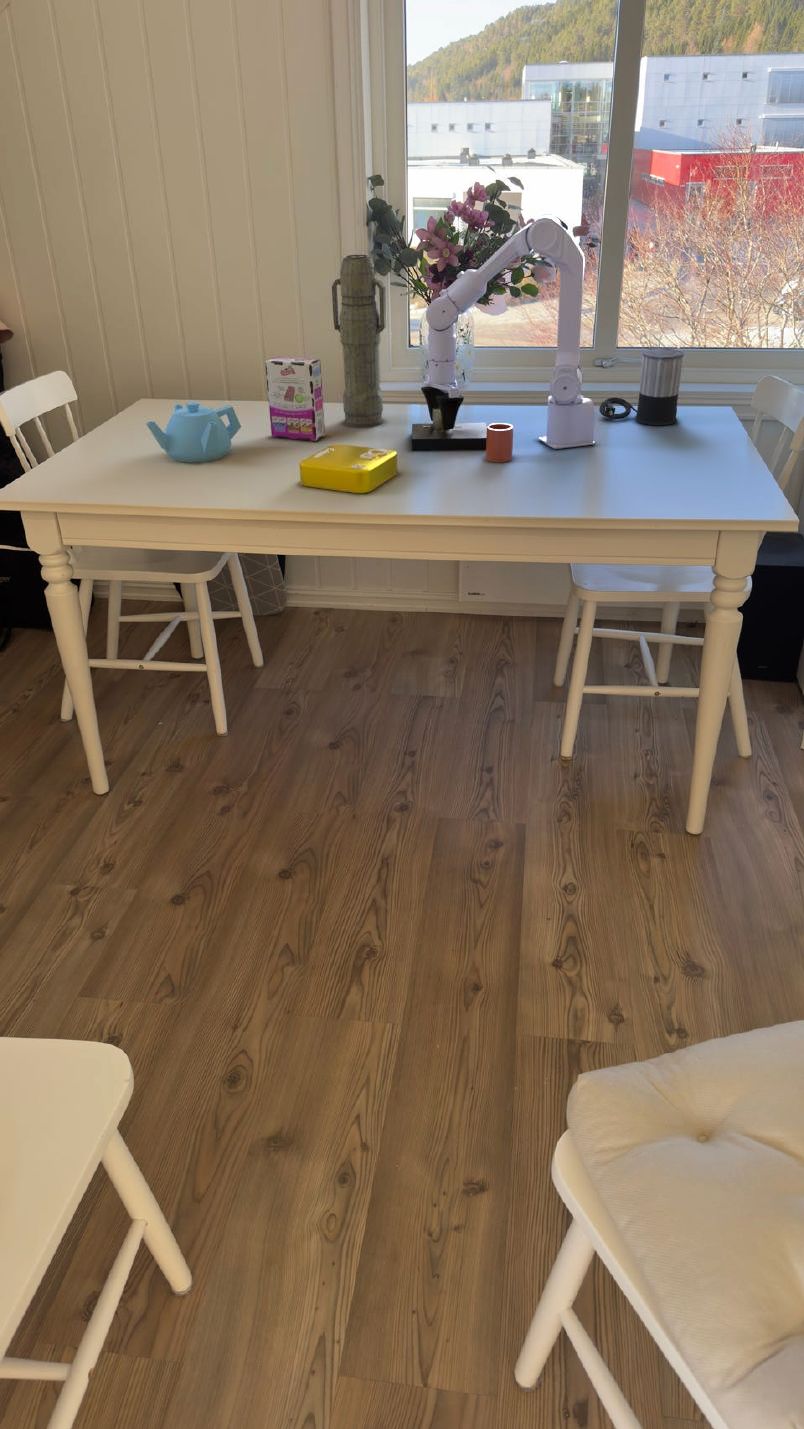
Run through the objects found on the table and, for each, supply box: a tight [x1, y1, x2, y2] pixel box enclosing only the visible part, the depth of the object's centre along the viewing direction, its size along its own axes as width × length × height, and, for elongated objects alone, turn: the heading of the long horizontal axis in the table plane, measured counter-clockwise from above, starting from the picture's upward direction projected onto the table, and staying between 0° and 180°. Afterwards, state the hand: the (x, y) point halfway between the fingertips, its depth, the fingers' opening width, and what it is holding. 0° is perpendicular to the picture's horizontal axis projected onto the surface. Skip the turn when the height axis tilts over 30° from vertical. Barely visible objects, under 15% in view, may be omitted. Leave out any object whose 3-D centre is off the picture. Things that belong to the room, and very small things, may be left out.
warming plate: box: [411, 422, 487, 452], centre depth 219 cm, size 16×13×3 cm
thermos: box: [331, 254, 387, 428], centre depth 226 cm, size 9×12×35 cm
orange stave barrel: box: [485, 422, 514, 464], centre depth 207 cm, size 5×5×6 cm
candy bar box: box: [264, 356, 326, 442], centre depth 221 cm, size 11×5×16 cm, turn 68°
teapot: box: [145, 401, 242, 464], centre depth 212 cm, size 15×15×11 cm
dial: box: [432, 406, 443, 429], centre depth 219 cm, size 4×4×4 cm
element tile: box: [298, 443, 398, 494], centre depth 198 cm, size 15×15×5 cm
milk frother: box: [598, 347, 685, 426], centre depth 228 cm, size 14×16×15 cm
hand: (442, 424), depth 220 cm, fingers open, 7 cm apart
